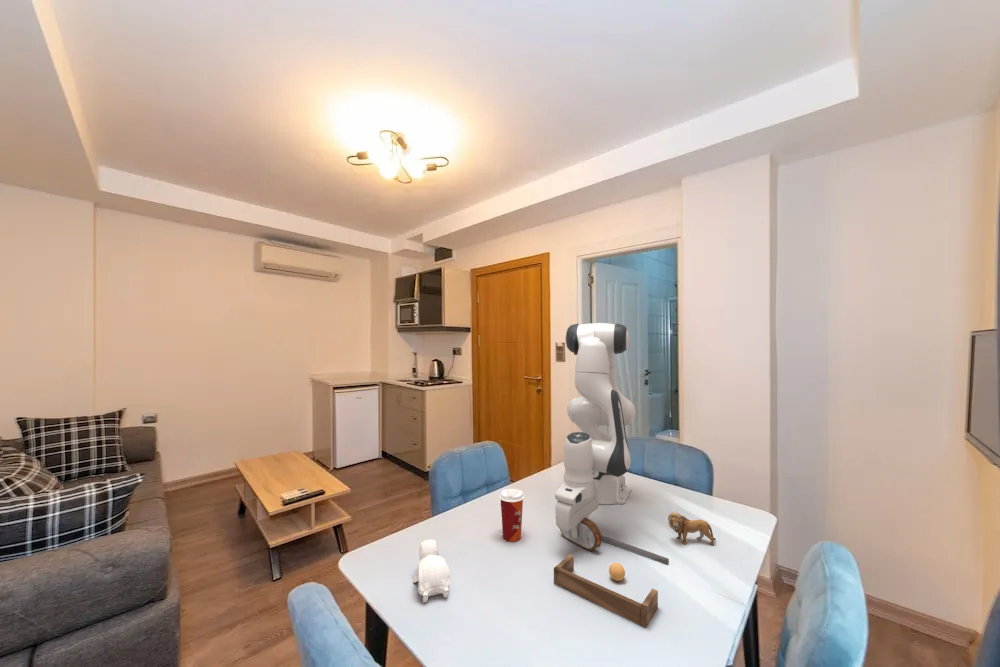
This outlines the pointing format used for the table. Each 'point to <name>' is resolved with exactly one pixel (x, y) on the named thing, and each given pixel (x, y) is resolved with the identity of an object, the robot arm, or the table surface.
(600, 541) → the tin
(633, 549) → the rail
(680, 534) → the lion figurine
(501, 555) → the table surface
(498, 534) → the table surface
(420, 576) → the white animal figurine
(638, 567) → the table surface
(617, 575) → the ball
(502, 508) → the paper cup
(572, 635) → the table surface
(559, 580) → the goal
